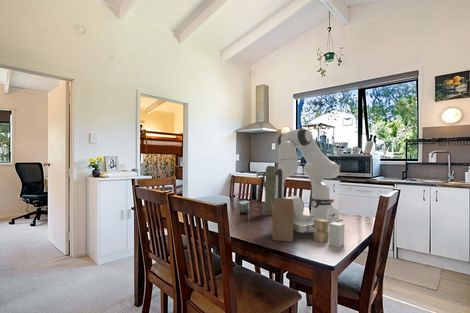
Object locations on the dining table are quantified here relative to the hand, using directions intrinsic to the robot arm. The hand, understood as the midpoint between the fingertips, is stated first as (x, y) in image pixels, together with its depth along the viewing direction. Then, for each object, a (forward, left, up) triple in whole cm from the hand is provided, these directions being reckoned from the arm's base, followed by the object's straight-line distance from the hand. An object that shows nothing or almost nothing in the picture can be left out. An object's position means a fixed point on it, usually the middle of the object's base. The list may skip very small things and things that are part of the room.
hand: (322, 229), depth 126 cm
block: (+16, -11, -6) cm, 20 cm away
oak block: (0, -1, -6) cm, 6 cm away
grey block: (-2, +7, -6) cm, 9 cm away
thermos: (-10, -60, -6) cm, 61 cm away
